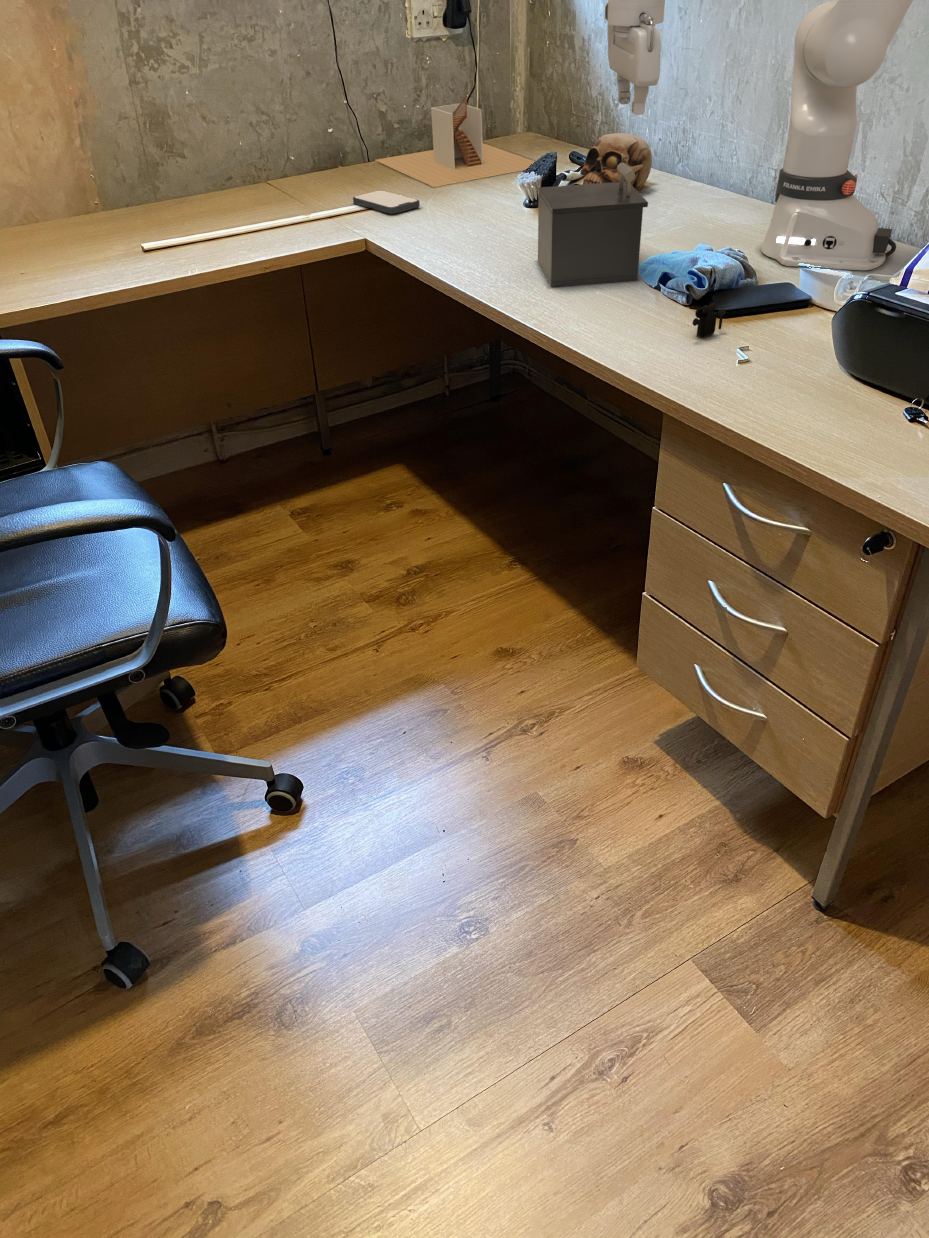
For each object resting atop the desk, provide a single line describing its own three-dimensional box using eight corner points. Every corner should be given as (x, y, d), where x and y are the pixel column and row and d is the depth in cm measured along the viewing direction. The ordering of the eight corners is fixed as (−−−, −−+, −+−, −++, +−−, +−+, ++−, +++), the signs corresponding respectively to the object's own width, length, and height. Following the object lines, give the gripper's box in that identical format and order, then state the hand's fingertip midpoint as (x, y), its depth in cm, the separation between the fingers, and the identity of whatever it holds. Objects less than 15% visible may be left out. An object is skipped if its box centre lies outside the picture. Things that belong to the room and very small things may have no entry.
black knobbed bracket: (693, 343, 140) (697, 311, 137) (681, 338, 142) (685, 306, 139) (724, 331, 143) (729, 300, 140) (712, 327, 145) (717, 295, 142)
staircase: (453, 169, 232) (450, 96, 221) (434, 161, 239) (430, 89, 229) (483, 164, 235) (481, 91, 224) (463, 156, 242) (460, 85, 232)
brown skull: (575, 203, 202) (580, 136, 195) (582, 192, 216) (587, 128, 209) (645, 207, 200) (653, 139, 192) (648, 195, 214) (655, 131, 206)
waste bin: (618, 255, 174) (623, 186, 166) (637, 280, 163) (643, 207, 155) (537, 261, 173) (538, 192, 166) (551, 287, 162) (552, 214, 155)
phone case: (351, 204, 211) (391, 216, 201) (350, 197, 210) (390, 208, 200) (381, 196, 215) (422, 207, 205) (381, 189, 214) (422, 200, 204)
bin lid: (627, 186, 166) (629, 156, 163) (647, 207, 155) (650, 175, 152) (538, 192, 166) (538, 162, 162) (552, 214, 154) (553, 182, 151)
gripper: (674, 15, 136) (666, 119, 144) (639, 3, 151) (634, 96, 160) (632, 19, 135) (627, 122, 144) (602, 5, 151) (599, 99, 160)
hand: (630, 108), depth 152 cm, fingers open, 8 cm apart
